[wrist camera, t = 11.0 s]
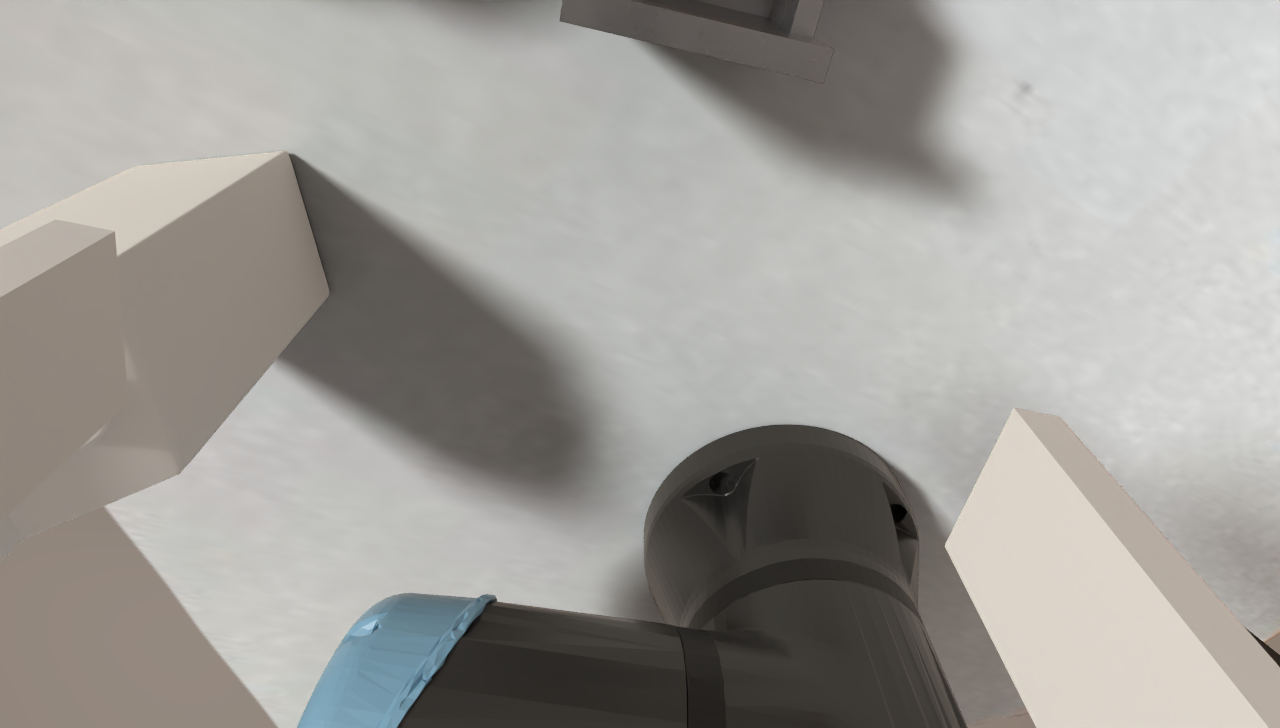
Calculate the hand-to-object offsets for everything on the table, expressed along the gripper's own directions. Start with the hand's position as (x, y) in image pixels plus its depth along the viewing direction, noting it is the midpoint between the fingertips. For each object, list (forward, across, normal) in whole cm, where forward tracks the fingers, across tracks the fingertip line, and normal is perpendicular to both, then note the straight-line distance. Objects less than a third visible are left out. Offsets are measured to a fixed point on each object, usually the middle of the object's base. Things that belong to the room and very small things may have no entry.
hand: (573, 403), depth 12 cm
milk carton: (+27, +16, +10) cm, 33 cm away
